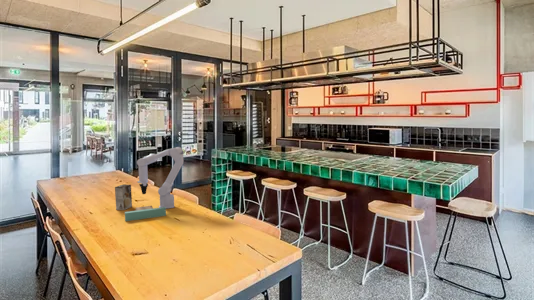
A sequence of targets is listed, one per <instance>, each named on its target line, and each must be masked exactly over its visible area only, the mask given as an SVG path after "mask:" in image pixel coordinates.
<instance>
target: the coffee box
mask: <svg viewBox="0 0 534 300" xmlns="http://www.w3.org/2000/svg"><path fill="white" fill-rule="evenodd" d="M114 194H115V196H114V197H115V209H116V211H125V210H129V209H130V208H132V207H133V200H132V199H133V197H132V184H123V183H122V184H120V185H117V186H115V187H114Z"/></svg>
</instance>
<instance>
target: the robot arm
mask: <svg viewBox="0 0 534 300" xmlns="http://www.w3.org/2000/svg"><path fill="white" fill-rule="evenodd" d="M184 154H185V152H184V150H183V148H182V147H181V146H176V147H172V148H168V149H167V148H166V149H165V150H163V151H161V152H159V153H149V155H145V156H143V157H142V158H138V159H137V160H136V165H137V166H138V180H139V181H137V183H138V184H139V187H140V190H141V194H142V195H146V194H147V189H148V187H149V175H148V173H149V172H148V165H150V164H153V163H156V162H158V160H159V159H161V158H163V157H165V156H169V157H171V158H172V159H173V161H174V164H173V165H172V167H171V170H170V172H169V174H168V175H167V177H166V179H165V181H164V183H163V184H162V185H161V187H159V188H158V191H157V193H158V195H159V205H158V208H161V207H165V208H166V210H168V209H173V208H175V196H174V194H172V193H171V192H172V190H173V189H172V187H173V183H174V181H175V179H176V178H177V176H178V175H179V171H180V170H181V168H182V166H183V164H184Z"/></svg>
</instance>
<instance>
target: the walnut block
mask: <svg viewBox="0 0 534 300" xmlns="http://www.w3.org/2000/svg"><path fill="white" fill-rule="evenodd" d="M145 209H153V206H152V205H145V206H139V207H138V206H136V207H135V211H137V210H145Z"/></svg>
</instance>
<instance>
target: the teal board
mask: <svg viewBox="0 0 534 300" xmlns="http://www.w3.org/2000/svg"><path fill="white" fill-rule="evenodd" d="M166 216H167V209H166V208H165V207H161V208H159V207H154V208H153V209H145V210H137V211H136V210H128V211H124V222H129V221H137V220H143V219H144V220H145V219H152V218H159V217H166Z"/></svg>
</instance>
